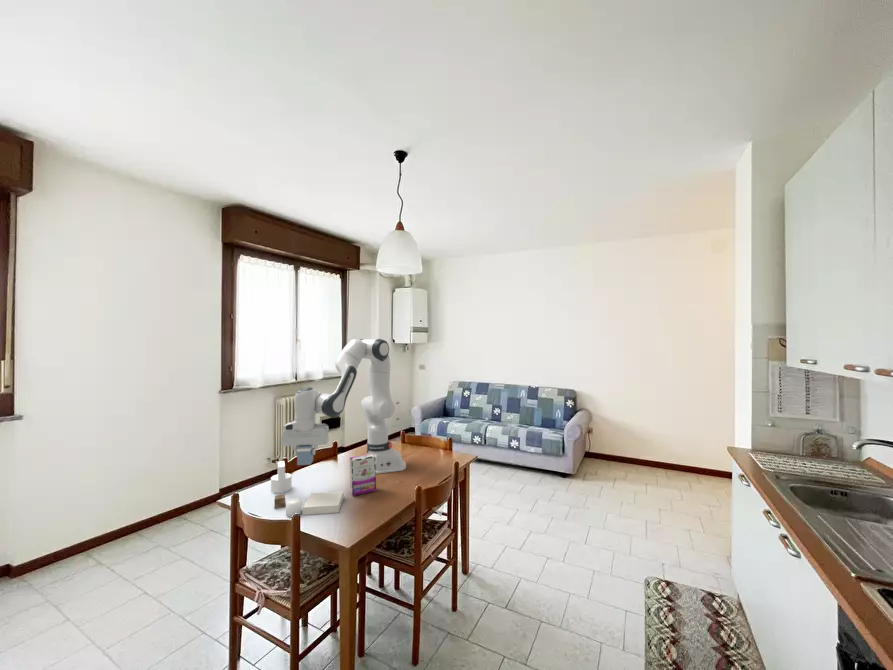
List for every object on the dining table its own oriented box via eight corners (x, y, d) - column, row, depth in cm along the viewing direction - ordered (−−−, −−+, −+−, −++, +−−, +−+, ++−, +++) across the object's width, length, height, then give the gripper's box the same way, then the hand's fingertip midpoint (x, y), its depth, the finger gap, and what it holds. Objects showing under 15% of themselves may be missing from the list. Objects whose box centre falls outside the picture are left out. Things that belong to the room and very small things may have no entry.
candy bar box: (373, 487, 174) (373, 453, 174) (376, 491, 169) (376, 456, 169) (349, 492, 168) (349, 456, 169) (352, 496, 164) (351, 460, 164)
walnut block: (285, 503, 158) (285, 494, 158) (284, 507, 155) (284, 497, 155) (275, 504, 157) (274, 495, 157) (274, 508, 153) (274, 499, 153)
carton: (313, 460, 167) (313, 443, 167) (310, 464, 162) (310, 446, 162) (300, 461, 166) (300, 443, 167) (297, 465, 161) (296, 447, 161)
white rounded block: (303, 509, 152) (303, 497, 152) (299, 516, 146) (299, 504, 146) (288, 510, 151) (288, 498, 151) (284, 517, 145) (283, 505, 145)
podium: (343, 497, 163) (343, 490, 163) (338, 512, 149) (338, 505, 149) (311, 499, 161) (311, 492, 161) (302, 514, 147) (302, 507, 147)
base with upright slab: (292, 490, 171) (292, 465, 171) (270, 494, 167) (270, 468, 167) (291, 484, 179) (290, 459, 179) (270, 487, 175) (270, 462, 175)
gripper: (330, 421, 168) (330, 451, 168) (284, 423, 166) (284, 453, 166) (327, 424, 162) (327, 455, 162) (279, 426, 160) (279, 458, 160)
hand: (305, 454), depth 164 cm, fingers closed on carton, 5 cm apart
